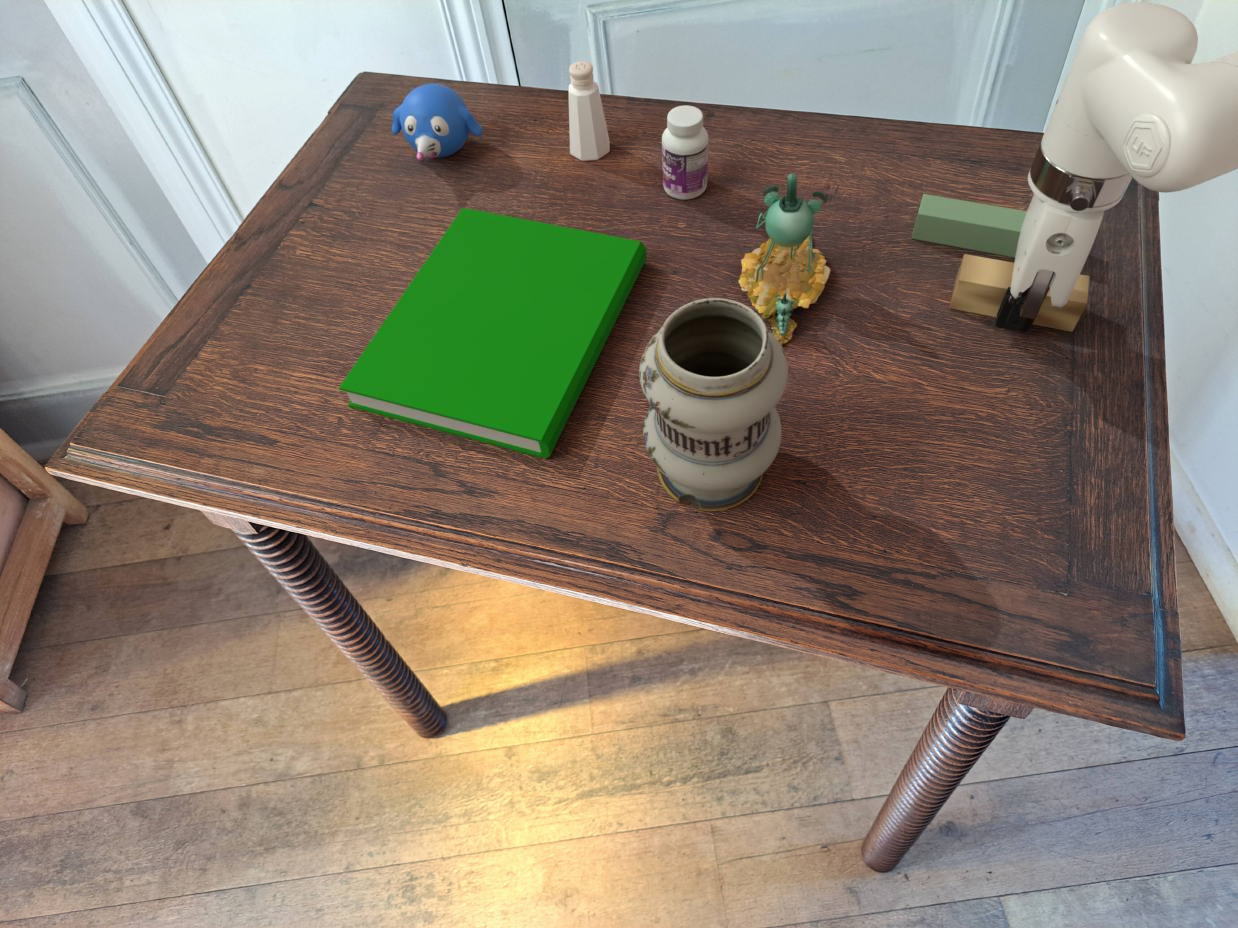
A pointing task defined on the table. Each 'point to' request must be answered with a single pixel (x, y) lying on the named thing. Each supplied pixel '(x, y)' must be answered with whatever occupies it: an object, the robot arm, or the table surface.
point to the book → (498, 331)
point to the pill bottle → (685, 153)
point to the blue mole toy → (434, 121)
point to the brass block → (989, 281)
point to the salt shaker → (586, 115)
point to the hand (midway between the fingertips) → (1011, 324)
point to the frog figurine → (785, 260)
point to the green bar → (969, 225)
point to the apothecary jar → (713, 402)
